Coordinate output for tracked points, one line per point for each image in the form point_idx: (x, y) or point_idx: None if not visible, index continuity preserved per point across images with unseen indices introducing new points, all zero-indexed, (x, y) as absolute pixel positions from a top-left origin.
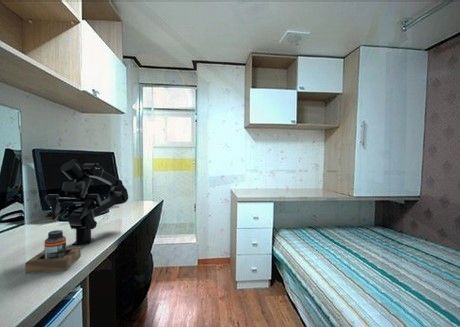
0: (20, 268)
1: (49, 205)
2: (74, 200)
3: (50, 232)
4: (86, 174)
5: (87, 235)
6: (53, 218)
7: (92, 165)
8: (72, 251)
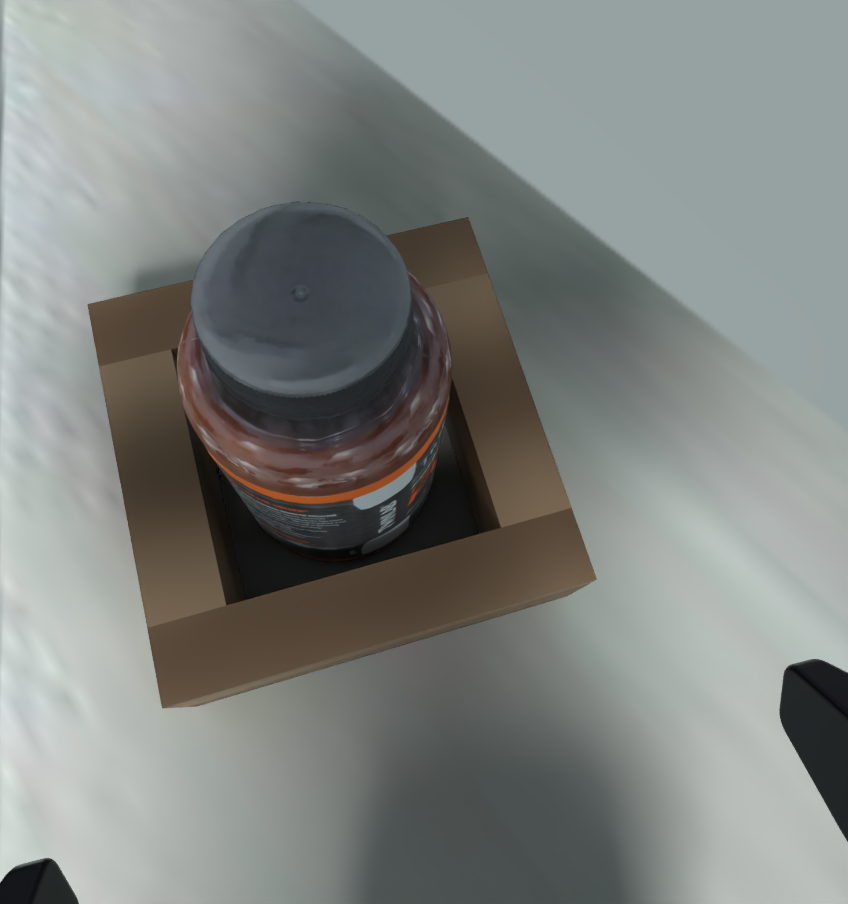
0: (604, 366)
1: None
2: None
3: (358, 246)
4: None
5: None
6: (797, 694)
7: None
8: (176, 534)
